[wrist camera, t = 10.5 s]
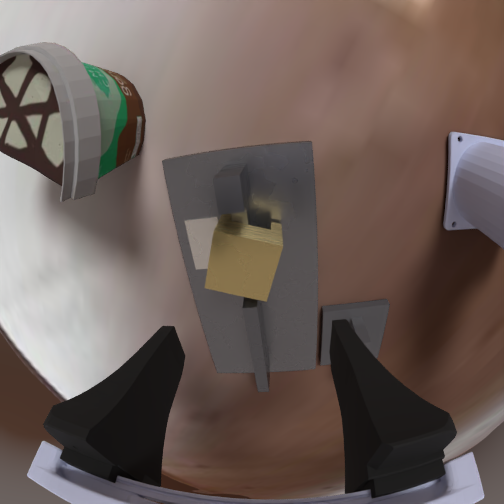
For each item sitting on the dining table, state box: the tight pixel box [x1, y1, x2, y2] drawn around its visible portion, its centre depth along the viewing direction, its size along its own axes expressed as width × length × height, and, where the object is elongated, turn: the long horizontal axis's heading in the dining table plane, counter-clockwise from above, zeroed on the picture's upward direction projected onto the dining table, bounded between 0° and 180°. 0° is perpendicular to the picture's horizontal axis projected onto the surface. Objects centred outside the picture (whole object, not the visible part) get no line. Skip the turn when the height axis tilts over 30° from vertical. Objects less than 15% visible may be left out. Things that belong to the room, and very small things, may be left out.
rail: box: [162, 141, 318, 392], centre depth 20 cm, size 10×21×5 cm, turn 7°
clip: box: [205, 214, 283, 302], centre depth 18 cm, size 4×4×4 cm
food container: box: [0, 42, 146, 202], centre depth 12 cm, size 12×6×10 cm, turn 60°
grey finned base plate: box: [320, 299, 390, 365], centre depth 23 cm, size 6×7×4 cm
